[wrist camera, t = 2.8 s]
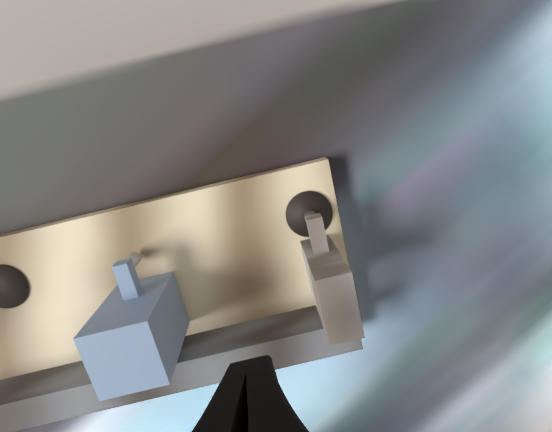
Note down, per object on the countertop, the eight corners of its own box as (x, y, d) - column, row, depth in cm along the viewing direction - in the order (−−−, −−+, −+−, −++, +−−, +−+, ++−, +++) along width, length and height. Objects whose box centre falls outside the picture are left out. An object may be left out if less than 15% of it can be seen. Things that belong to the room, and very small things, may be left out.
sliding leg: (163, 241, 19) (133, 282, 15) (189, 321, 21) (169, 384, 16) (106, 254, 19) (56, 300, 15) (135, 334, 21) (99, 401, 16)
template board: (324, 156, 20) (353, 173, 14) (357, 324, 22) (393, 397, 17) (-87, 255, 20) (-227, 312, 14) (-7, 410, 22) (-98, 513, 17)
